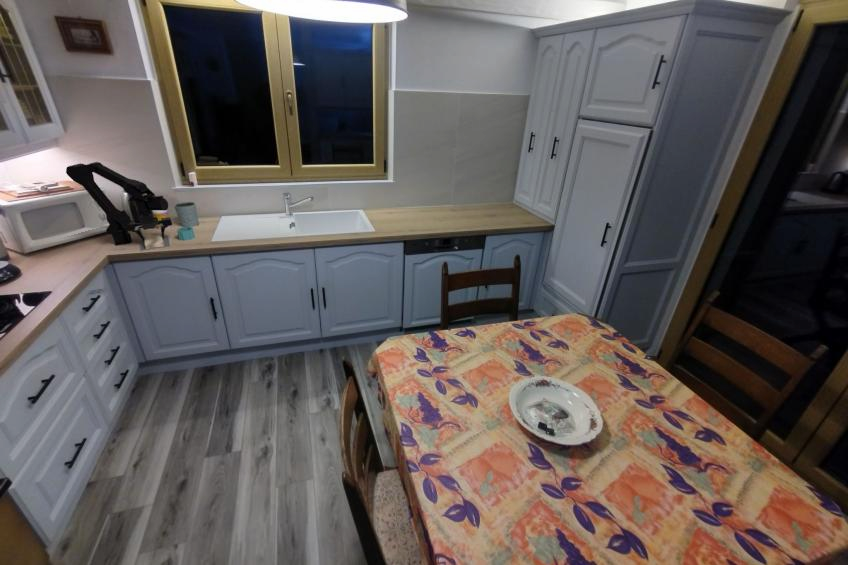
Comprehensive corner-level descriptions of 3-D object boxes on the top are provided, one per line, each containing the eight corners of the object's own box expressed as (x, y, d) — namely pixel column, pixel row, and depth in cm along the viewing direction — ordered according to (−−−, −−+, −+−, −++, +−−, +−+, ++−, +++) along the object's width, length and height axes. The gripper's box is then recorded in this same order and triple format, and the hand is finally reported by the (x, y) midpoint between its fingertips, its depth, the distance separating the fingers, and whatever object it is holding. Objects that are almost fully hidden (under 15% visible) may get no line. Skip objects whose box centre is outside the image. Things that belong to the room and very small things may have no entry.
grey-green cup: (194, 228, 211) (188, 207, 205) (175, 228, 211) (169, 206, 205) (203, 222, 220) (198, 202, 214) (186, 222, 220) (180, 201, 214)
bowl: (180, 242, 193) (177, 232, 191) (179, 237, 198) (176, 228, 196) (195, 239, 197) (193, 230, 194) (194, 235, 202) (192, 226, 199)
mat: (140, 251, 181) (140, 250, 181) (140, 240, 194) (140, 239, 194) (170, 247, 187) (169, 246, 187) (168, 236, 200) (168, 235, 200)
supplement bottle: (167, 229, 208) (160, 206, 202) (154, 229, 208) (147, 206, 202) (174, 225, 214) (168, 203, 208) (162, 225, 214) (155, 202, 208)
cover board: (146, 248, 183) (144, 244, 182) (146, 239, 194) (144, 234, 193) (164, 246, 187) (162, 241, 186) (162, 237, 197) (161, 232, 196)
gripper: (119, 217, 172) (130, 249, 179) (168, 211, 181) (177, 242, 188) (120, 210, 180) (131, 242, 188) (167, 205, 189) (175, 235, 197)
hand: (154, 240), depth 190 cm, fingers closed on cover board, 7 cm apart
